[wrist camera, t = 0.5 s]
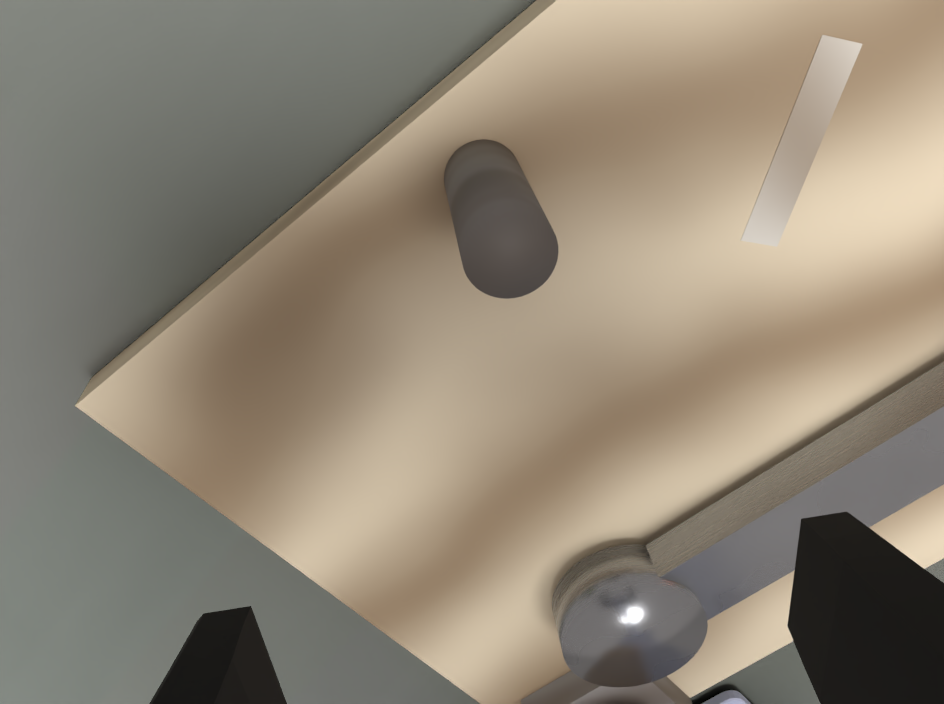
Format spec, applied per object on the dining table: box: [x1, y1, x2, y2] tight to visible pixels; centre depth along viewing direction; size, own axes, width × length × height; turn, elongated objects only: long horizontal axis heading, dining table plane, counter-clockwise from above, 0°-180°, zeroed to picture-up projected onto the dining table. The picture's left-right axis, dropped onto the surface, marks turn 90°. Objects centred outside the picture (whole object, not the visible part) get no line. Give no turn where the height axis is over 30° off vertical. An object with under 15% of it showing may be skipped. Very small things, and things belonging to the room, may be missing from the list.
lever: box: [552, 362, 944, 687], centre depth 19 cm, size 16×4×6 cm, turn 128°
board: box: [75, 0, 944, 704], centre depth 19 cm, size 20×22×5 cm
